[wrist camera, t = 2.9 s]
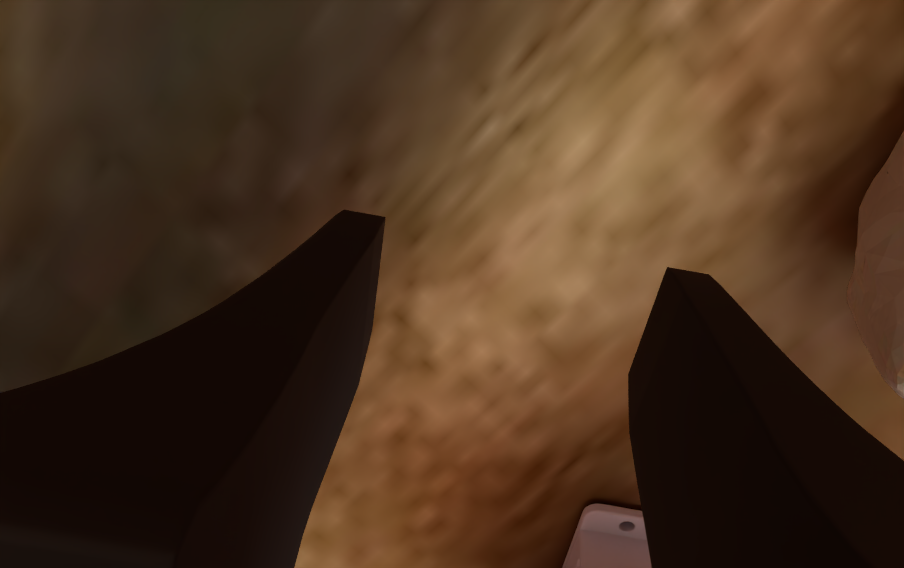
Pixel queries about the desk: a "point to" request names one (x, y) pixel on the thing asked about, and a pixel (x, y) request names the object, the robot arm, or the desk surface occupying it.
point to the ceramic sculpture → (882, 270)
